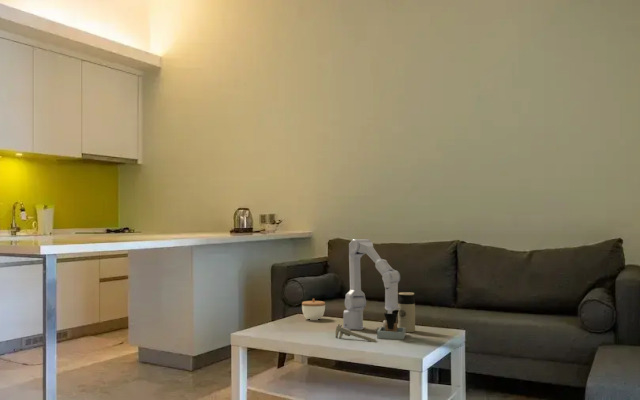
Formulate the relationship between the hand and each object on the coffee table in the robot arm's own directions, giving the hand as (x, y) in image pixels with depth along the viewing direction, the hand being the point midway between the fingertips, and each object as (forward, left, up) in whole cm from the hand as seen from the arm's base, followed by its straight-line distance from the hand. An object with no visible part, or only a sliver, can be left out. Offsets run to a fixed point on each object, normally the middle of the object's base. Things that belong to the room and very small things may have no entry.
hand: (391, 327), depth 254 cm
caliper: (-14, -11, -4) cm, 19 cm away
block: (0, 0, -3) cm, 3 cm away
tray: (0, 0, -4) cm, 4 cm away
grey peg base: (-4, +12, -4) cm, 13 cm away
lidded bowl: (-46, +38, -4) cm, 60 cm away
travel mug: (+6, +15, -4) cm, 17 cm away
